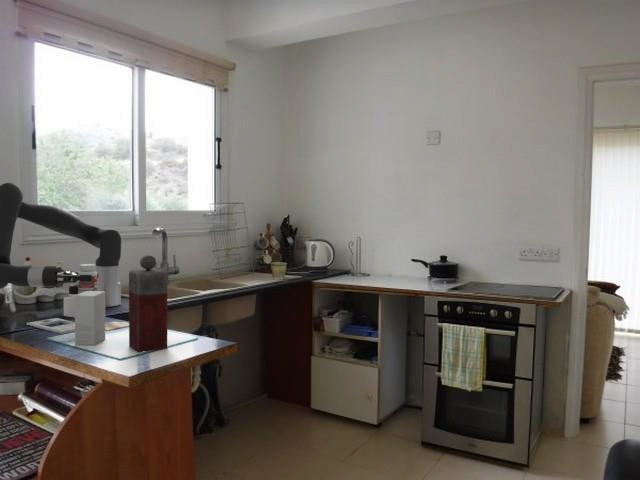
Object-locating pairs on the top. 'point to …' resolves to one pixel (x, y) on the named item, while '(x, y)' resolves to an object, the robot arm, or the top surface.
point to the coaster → (115, 325)
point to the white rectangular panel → (58, 329)
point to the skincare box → (89, 317)
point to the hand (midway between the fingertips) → (94, 276)
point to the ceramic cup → (278, 269)
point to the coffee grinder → (147, 307)
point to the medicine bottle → (70, 301)
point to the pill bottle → (87, 285)
